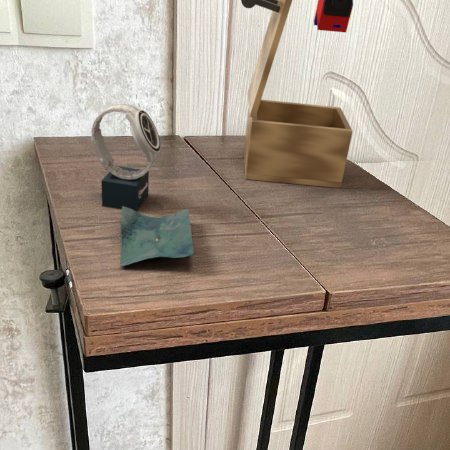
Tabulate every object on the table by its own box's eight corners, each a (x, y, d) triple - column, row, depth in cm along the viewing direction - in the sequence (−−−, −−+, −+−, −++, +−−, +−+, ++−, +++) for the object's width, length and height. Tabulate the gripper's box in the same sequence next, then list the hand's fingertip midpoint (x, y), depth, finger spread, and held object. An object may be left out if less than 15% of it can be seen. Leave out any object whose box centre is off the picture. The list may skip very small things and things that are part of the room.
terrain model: (193, 270, 66) (194, 253, 64) (118, 270, 65) (117, 253, 64) (188, 219, 75) (188, 204, 74) (122, 219, 75) (121, 203, 73)
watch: (152, 213, 76) (154, 118, 69) (88, 203, 77) (83, 108, 70) (163, 197, 80) (166, 105, 73) (102, 187, 81) (99, 96, 74)
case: (330, 160, 98) (340, 107, 93) (340, 188, 89) (352, 131, 84) (243, 152, 97) (249, 98, 92) (245, 179, 88) (251, 121, 83)
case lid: (286, -17, 83) (245, -32, 82) (294, -5, 74) (247, -22, 73) (252, 95, 92) (214, 83, 91) (255, 118, 83) (213, 104, 82)
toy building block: (314, 42, 79) (328, -22, 72) (313, 20, 81) (327, -45, 73) (342, 45, 79) (359, -19, 72) (341, 23, 81) (357, -42, 74)
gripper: (423, -196, 59) (376, 27, 70) (386, -181, 72) (352, 5, 83) (344, -206, 58) (310, 20, 70) (322, -189, 71) (296, -1, 83)
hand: (333, 10), depth 76 cm, fingers closed on toy building block, 4 cm apart
